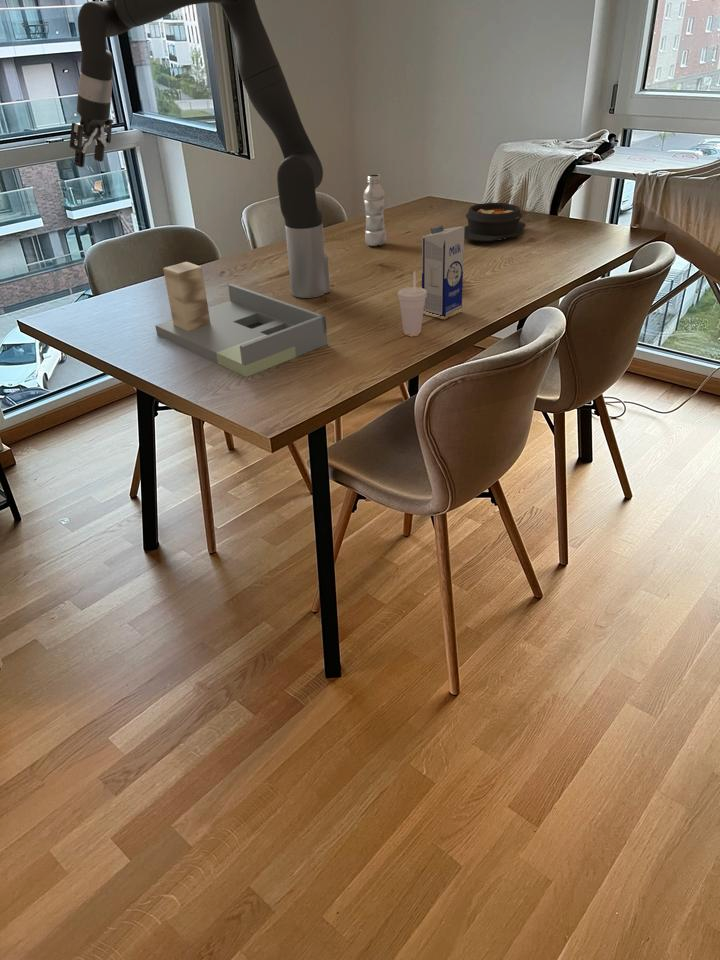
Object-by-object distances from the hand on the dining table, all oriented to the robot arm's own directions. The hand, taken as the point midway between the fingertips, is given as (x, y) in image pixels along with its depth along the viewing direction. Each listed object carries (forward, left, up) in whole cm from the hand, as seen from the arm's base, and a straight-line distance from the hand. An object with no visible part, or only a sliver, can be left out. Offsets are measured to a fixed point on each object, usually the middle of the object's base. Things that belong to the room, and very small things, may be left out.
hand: (89, 163), depth 192 cm
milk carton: (-66, +66, -31) cm, 98 cm away
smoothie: (-54, +74, -31) cm, 96 cm away
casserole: (-112, +16, -31) cm, 117 cm away
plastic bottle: (-77, +6, -31) cm, 83 cm away
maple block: (-10, +49, -28) cm, 58 cm away
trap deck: (-19, +58, -31) cm, 68 cm away
